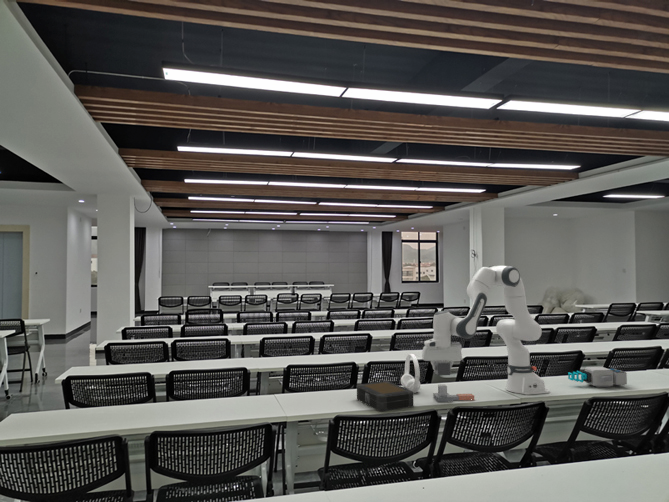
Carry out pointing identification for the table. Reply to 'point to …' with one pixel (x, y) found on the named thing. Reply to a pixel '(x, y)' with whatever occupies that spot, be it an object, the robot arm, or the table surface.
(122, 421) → the table surface
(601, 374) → the toy
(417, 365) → the headphones
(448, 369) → the dark grey cube
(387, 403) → the cash box
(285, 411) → the table surface
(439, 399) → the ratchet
